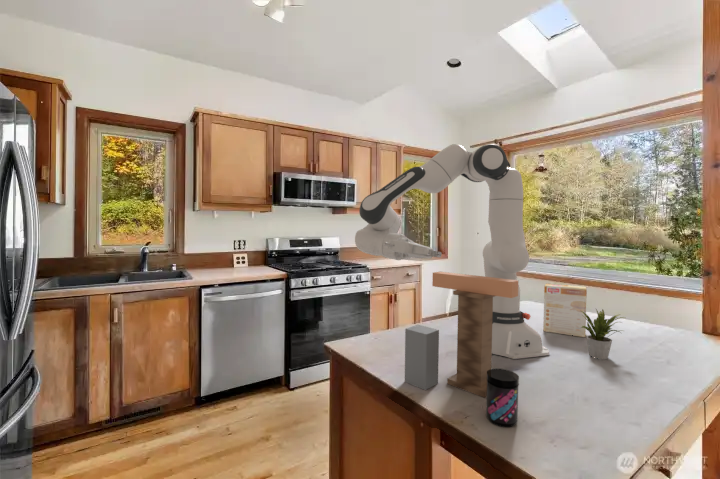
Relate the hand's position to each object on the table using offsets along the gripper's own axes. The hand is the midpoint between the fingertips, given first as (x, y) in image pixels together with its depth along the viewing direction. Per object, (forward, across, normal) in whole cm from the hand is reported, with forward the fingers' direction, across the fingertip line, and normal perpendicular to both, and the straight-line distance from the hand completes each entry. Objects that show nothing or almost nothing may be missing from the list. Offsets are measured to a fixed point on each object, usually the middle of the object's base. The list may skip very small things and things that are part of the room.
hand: (434, 253), depth 110 cm
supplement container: (+30, -16, +35) cm, 49 cm away
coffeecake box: (+34, +68, +22) cm, 79 cm away
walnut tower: (+19, -2, +34) cm, 39 cm away
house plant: (+47, +43, +24) cm, 68 cm away
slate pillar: (+7, -9, +36) cm, 38 cm away
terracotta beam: (+15, -6, +8) cm, 18 cm away
